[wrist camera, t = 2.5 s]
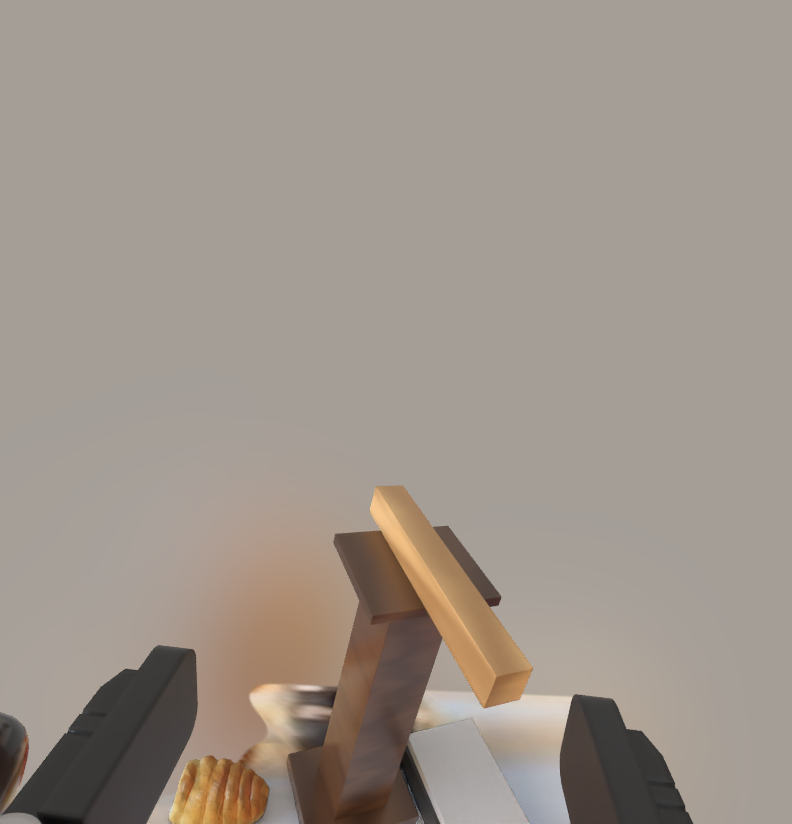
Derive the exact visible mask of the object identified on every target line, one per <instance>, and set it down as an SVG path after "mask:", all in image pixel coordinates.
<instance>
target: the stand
mask: <svg viewBox="0 0 792 824" xmlns="http://www.w3.org/2000/svg"><path fill="white" fill-rule="evenodd" d="M433 528H434V530H435V531H436V532H437V534H438V535H439V537H440V538H441V540H442V541H443V542H444V544H445V545H446V547H447V548H448V549H449V551H450V552H451V554H452V555H453V556H454V558H455V559H456V561H457V562H458V563H459V565H460V566H461V568H462V569H463V570H464V572H465V573H466V575H467V576H468V577H469V579H470V580H471V582H472V583H473V584H474V586H475V587H476V589H477V590H478V591H479V593H480V594H481V596H482V597H483V598H484V600H485V601H486V603H487V604H488V605H489V607H492V606H498V605H499V602H500V600H501V595H500V594H499V593H498V591H497V590H496V589H495V588H494V586H493V585H492V584H491V582H490V581H489V580H488V578H487V577H486V576H485V574H484V573H483V572H482V570H481V569H480V568H479V567H478V565H477V564H476V562H475V561H474V560H473V558H472V557H471V556H470V554H469V553H468V552H467V551H466V549H465V548H464V547H463V545H462V544H461V543H460V541H459V540H458V538H457V537H456V536H455V535H454V533H453V532H452V531H451V529H450V528H449V526H441V527H433ZM334 545H335V547H336V549H337V552H338V554H339V556H340V558H341V560H342V563H343V565H344V567H345V569H346V572H347V574H348V576H349V578H350V581H351V583H352V585H353V587H354V590H355V592H356V594H357V596H358V598H359V604H358V608H357V613H356V617H355V621H354V625H353V629H352V633H351V637H350V641H349V645H348V649H347V653H346V657H345V661H344V665H343V669H342V673H341V677H340V681H339V685H338V689H337V693H336V697H335V701H334V705H333V709H332V713H331V718H330V722H329V726H328V730H327V734H326V738H325V742H324V746H320V747H316V748H312V749H308V750H304V751H300V752H296V753H292V754H289V755H288V759H287V766H288V771H289V775H290V780H291V785H292V789H293V794H294V798H295V803H296V807H297V812H298V817H299V821H300V824H416V822H417V819H418V816H419V815H418V813H417V810H416V808H415V805H414V803H413V800H412V797H411V795H410V792H409V790H408V787H407V785H406V782H405V780H404V777H403V775H402V772H401V769H400V767H399V766H400V763H401V760H402V757H403V754H404V751H405V748H406V745H407V742H408V739H409V736H410V733H411V730H412V728H413V725H414V722H415V719H416V716H417V713H418V710H419V707H420V704H421V701H422V698H423V695H424V692H425V689H426V686H427V683H428V680H429V677H430V674H431V671H432V668H433V665H434V662H435V659H436V656H437V653H438V650H439V647H440V644H441V641H442V636H441V634H440V633H439V631H438V629H437V627H436V626H435V624H434V622H433V620H432V619H431V617H430V615H429V613H428V612H427V610H426V608H425V607H424V605H423V603H422V601H421V600H420V598H419V596H418V594H417V593H416V591H415V589H414V588H413V586H412V584H411V582H410V581H409V579H408V577H407V575H406V574H405V572H404V570H403V568H402V567H401V565H400V563H399V562H398V560H397V558H396V556H395V555H394V553H393V551H392V549H391V548H390V546H389V544H388V542H387V541H386V539H385V537H384V536H383V534H382V532H381V531H369V532H355V533H341V534H335V537H334Z"/></svg>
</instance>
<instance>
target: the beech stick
mask: <svg viewBox="0 0 792 824" xmlns="http://www.w3.org/2000/svg"><path fill="white" fill-rule="evenodd" d="M370 513H371V515H372V516H373V518H374V520H375V522H376V523H377V525H378V527H379V529H380V530H381V532H382V534H383V536H384V537H385V539H386V541H387V542H388V544H389V546H390V548H391V549H392V551H393V553H394V555H395V556H396V558H397V560H398V562H399V563H400V565H401V567H402V568H403V570H404V572H405V574H406V575H407V577H408V579H409V581H410V582H411V584H412V586H413V588H414V589H415V591H416V593H417V594H418V596H419V598H420V600H421V601H422V603H423V605H424V607H425V608H426V610H427V612H428V613H429V615H430V617H431V619H432V620H433V622H434V624H435V626H436V627H437V629H438V631H439V633H440V634H441V636H442V638H443V639H444V641H445V643H446V645H447V646H448V648H449V650H450V652H451V653H452V655H453V657H454V658H455V660H456V662H457V663H458V665H459V667H460V669H461V670H462V672H463V674H464V676H465V678H466V679H467V681H468V683H469V684H470V686H471V688H472V690H473V691H474V693H475V695H476V697H477V698H478V700H479V702H480V703H481V705H482V707H483V708H488V707H492V706H496V705H500V704H504V703H508V702H512V701H516V700H519V699H520V697H521V695H522V693H523V691H524V688H525V686H526V684H527V681H528V679H529V677H530V674H531V672H532V670H533V667H532V666H531V664H530V663H529V662H528V660H527V659H526V657H525V656H524V655H523V653H522V652H521V650H520V649H519V648H518V646H517V645H516V643H515V642H514V641H513V639H512V638H511V636H510V635H509V633H508V632H507V631H506V629H505V628H504V626H503V625H502V624H501V622H500V621H499V619H498V618H497V617H496V615H495V614H494V613H493V611H492V610H491V608H490V607H489V605H488V604H487V603H486V601H485V600H484V598H483V597H482V596H481V594H480V593H479V591H478V590H477V589H476V587H475V586H474V584H473V583H472V582H471V580H470V579H469V577H468V576H467V575H466V573H465V572H464V570H463V569H462V568H461V566H460V565H459V563H458V562H457V561H456V559H455V558H454V556H453V555H452V554H451V552H450V551H449V549H448V548H447V547H446V545H445V544H444V542H443V541H442V540H441V538H440V537H439V535H438V534H437V532H436V531H435V530H434V528H433V527H432V525H431V524H430V523H429V521H428V520H427V518H426V517H425V516H424V514H423V513H422V511H421V510H420V509H419V508H418V506H417V505H416V503H415V502H414V500H413V499H412V497H411V496H410V495H409V493H408V492H407V491H406V489H405V488H404V486H376V487H375V491H374V496H373V500H372V504H371V508H370Z"/></svg>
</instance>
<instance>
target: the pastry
mask: <svg viewBox="0 0 792 824" xmlns="http://www.w3.org/2000/svg"><path fill="white" fill-rule="evenodd" d="M268 795H269V787H268V785H267V784H266V783H265V781H264V779H263V778H261V777H259V776H258V775H257V774H255V772H254V771H253V770H252V769H245V768H244V766H243V765H242V764H241V763H233V762H232V761H231V760H228V759H220V760H219V761H217V760H216V759H215V757H213V756H206V757H204V758H202V759H201V760H197V759H195V760H192V761H189V762H187V764H186V766H185V769H184V771H183V773H182V776H181V778H180V781H179V785H178V791H177V793H176V795H175V800H174V803H173V805H172V806H171V810H170V812H169V820H170V821H171V822H172V823H173V824H252V823H254V822H256V821H257V820H258V819H260V818H261V816H262V815H263V814H264V812H265V810H266V806H267V800H268Z"/></svg>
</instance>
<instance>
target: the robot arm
mask: <svg viewBox="0 0 792 824" xmlns="http://www.w3.org/2000/svg"><path fill="white" fill-rule="evenodd" d="M197 704H198V703H197V674H196V654H195V651H194V650H193V649H185V648H178V647H169V646H161V645H159V646H156V647H155V648H154V649H153V650H152V651H151V653H150V654H149V656H148V657H147V658H146V660H145V661H144V663H143V664H142V666H141V667H140V668H139V670H131V669H125V670H123V671H122V672H120V673H119V674H118V675H116V676H115V677H114V678H112V679H111V680H110V681H108V682H107V683H106V684H104V685H103V686H101V687H100V689H99V690H98V691H97V693H96V694H95V695H94V696H93V698H92V699H91V700H90V702H89V703H88V704H87V705H86V707H85V708H84V710H83V713H82V714H80V715H79V716H78V717H77V718H76V720H75V721H74V722H73V724H72V725H71V726H70V728H69V730H68V733H67V734H64V735H63V737H62V738H61V739H60V740H59V742H58V743H57V745H56V746H55V747H54V748H53V749H52V751H51V752H50V753H49V755H48V756H47V757H46V759H45V760H44V761H43V762H42V764H41V765H40V766H39V768H38V769H37V770H36V772H35V773H34V774H33V775H32V777H31V778H30V779H29V781H28V782H27V783H26V784H25V786H24V787H23V788H22V790H21V791H20V792H19V793H18V795H17V796H16V797H15V795H16V793H17V790H18V788H19V786H20V783H21V780H22V777H23V774H24V769H25V765H26V761H27V756H28V749H29V745H28V735H27V732H26V729H25V727H24V726H23V725H22V724H21V723H20V722H19V721H18V720H17V719H16V718H14V717H13V716H10V715H7V714H4V713H1V712H0V824H146V823H147V821H148V819H149V817H150V815H151V813H152V811H153V809H154V807H155V805H156V803H157V801H158V799H159V797H160V795H161V794H162V791H163V789H164V788H165V786H166V784H167V782H168V780H169V778H170V776H171V774H172V772H173V770H174V768H175V766H176V764H177V762H178V760H179V758H180V756H181V754H182V752H183V750H184V748H185V746H186V744H187V742H188V740H189V738H190V736H191V733H192V730H193V727H194V724H195V720H196V714H197ZM560 776H561V783H562V788H563V792H564V797H565V801H566V805H567V809H568V814H569V818H570V822H571V824H693V822H692V820H691V818H690V816H689V814H688V812H686V810H685V805H684V802H683V800H682V798H681V796H680V793H679V791H678V790H677V789H676V788H675V782H674V780H673V778H672V776H671V773H670V771H669V769H668V767H667V765H666V762H665V760H664V758H663V756H662V755H661V753H660V752H659V751H658V750H657V749H656V748H655V746H654V745H653V744H652V743H651V742H650V741H649V739H648V738H647V737H646V736H645V735H644V733H643V732H642V731H637V730H629V729H626V727H625V724H624V722H623V719H622V717H621V715H620V712H619V709H618V707H617V705H616V703H615V701H614V700H613V699H610V698H602V697H593V696H585V695H577V694H576V695H574V696H573V698H572V701H571V706H570V710H569V715H568V719H567V724H566V728H565V733H564V737H563V742H562V746H561V752H560ZM14 797H15V799H14Z"/></svg>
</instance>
